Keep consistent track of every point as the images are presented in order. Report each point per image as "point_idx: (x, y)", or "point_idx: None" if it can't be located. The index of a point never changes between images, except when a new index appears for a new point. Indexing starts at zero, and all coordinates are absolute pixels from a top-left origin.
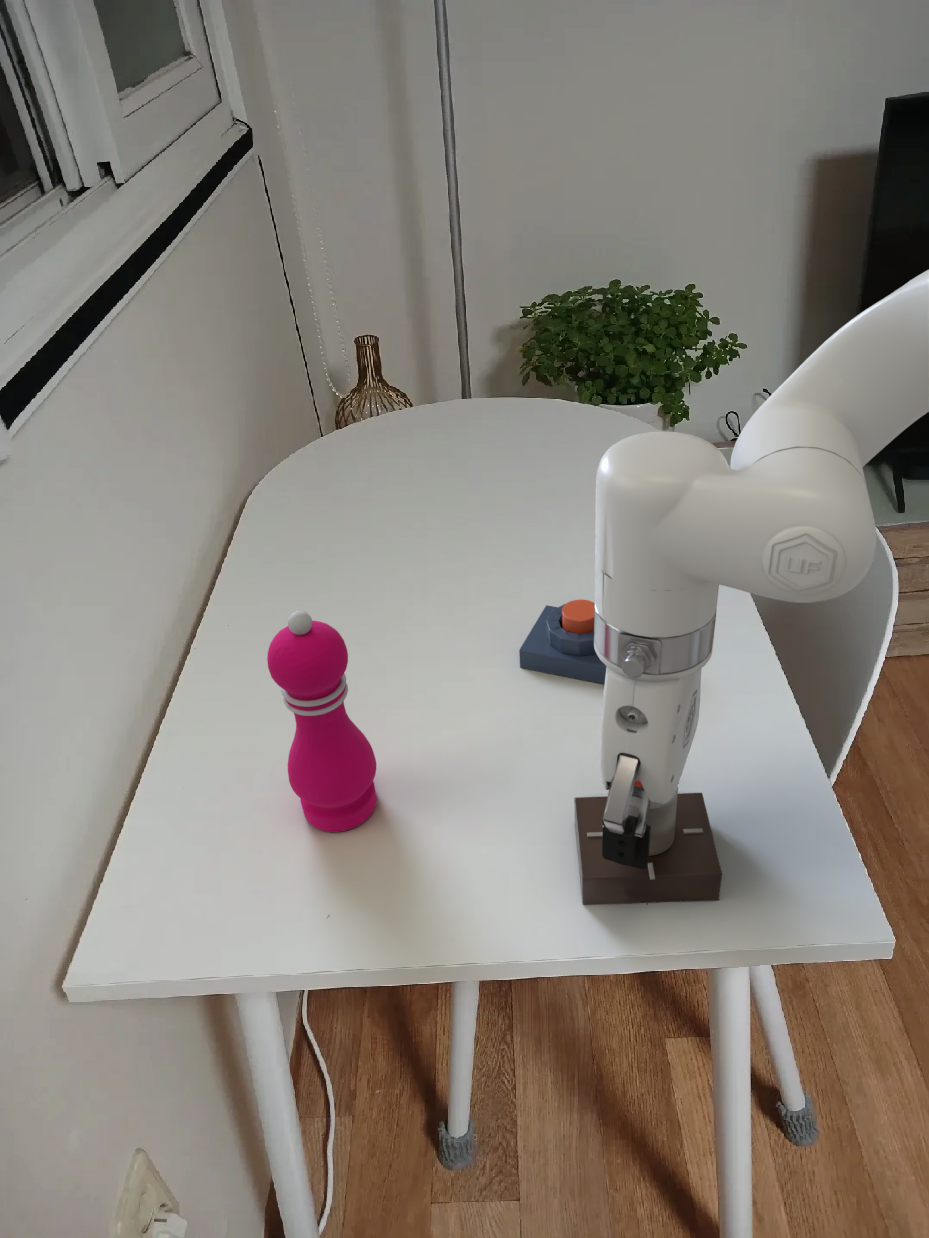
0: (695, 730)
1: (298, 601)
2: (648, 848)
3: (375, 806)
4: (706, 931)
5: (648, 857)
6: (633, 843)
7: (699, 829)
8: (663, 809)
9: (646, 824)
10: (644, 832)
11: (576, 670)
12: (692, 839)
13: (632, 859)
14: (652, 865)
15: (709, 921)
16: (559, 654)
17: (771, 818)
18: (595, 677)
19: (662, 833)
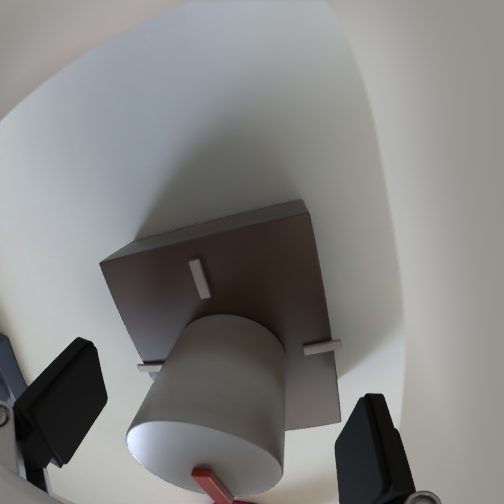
0: (1, 485)
1: (83, 495)
2: (390, 436)
3: (236, 502)
4: (368, 218)
5: (377, 408)
6: (410, 478)
7: (192, 267)
8: (268, 440)
9: (381, 494)
10: (414, 494)
11: (15, 380)
12: (221, 278)
13: (400, 439)
14: (310, 347)
15: (348, 214)
16: (12, 398)
17: (106, 127)
18: (11, 362)
19: (272, 373)
